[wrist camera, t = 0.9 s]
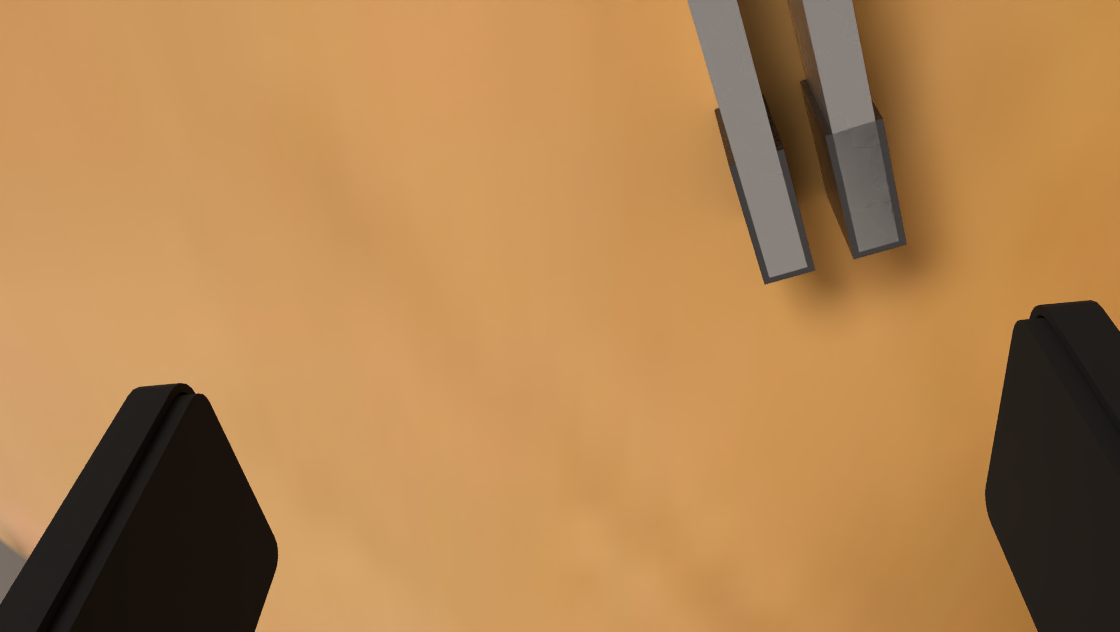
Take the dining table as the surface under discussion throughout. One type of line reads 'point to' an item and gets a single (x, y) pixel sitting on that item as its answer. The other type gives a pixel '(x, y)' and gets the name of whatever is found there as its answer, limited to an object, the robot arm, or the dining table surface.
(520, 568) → the dining table surface
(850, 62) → the tongs
